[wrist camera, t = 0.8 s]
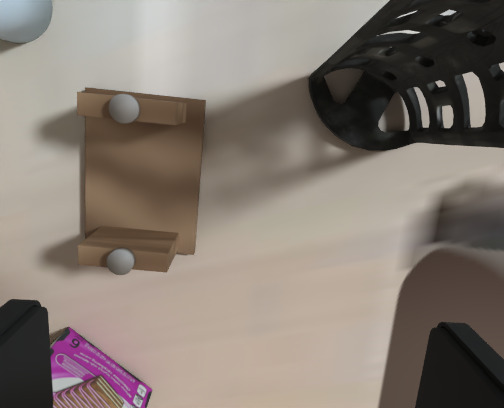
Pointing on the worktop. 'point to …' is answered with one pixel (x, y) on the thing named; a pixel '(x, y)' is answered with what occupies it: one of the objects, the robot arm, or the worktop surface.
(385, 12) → the holder
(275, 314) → the worktop surface
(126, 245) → the cradle
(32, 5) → the pale blue rounded cylinder
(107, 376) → the candy bar box
